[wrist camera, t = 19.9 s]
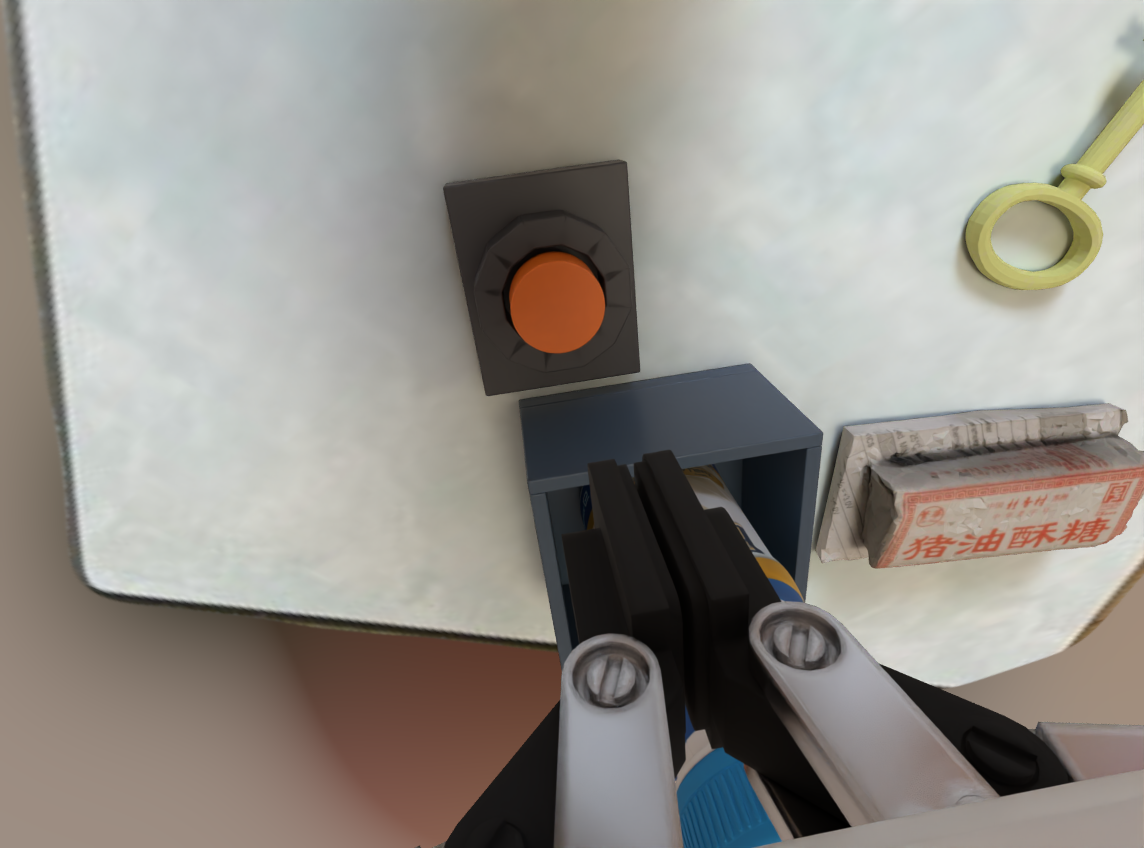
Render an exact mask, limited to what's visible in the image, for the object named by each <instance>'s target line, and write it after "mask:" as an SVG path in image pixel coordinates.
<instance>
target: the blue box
mask: <svg viewBox="0 0 1144 848" xmlns="http://www.w3.org/2000/svg"><path fill="white" fill-rule="evenodd" d="M519 407H520V416H521V426H522V436H523V446H524V455H525V465H526V475H527V484H528V489H529V493H530V500H531V505H532V511H533V516H534V522H535V527H536V533H537V538H538V543H539V549H540V554H541V560H542V565H543V571H544V576H545V582H546V587H547V592H548V598H549V603H550V609H551V614H552V620H553V625H554V630H555V636H556V641H557V647H558V652H559V658H560V663H561V669H562V672H563V667H564V663H565V661H566V660H567V658H568V656H569V655H570V653H571V651H573V650H574V649H575V648H576V647H577V646H578V645H579V640H578V634H577V628H576V622H575V616H574V611H573V605H572V599H571V593H570V586H569V580H568V574H567V568H566V562H565V555H564V549H563V543H562V536H561V534H566V533H572V532H578V531H583V530H585V527H584V524H583V520H582V516H581V511H580V494H581V489H582V486H585V485H589V476H588V467H587V464H588V463H591V462H597V461H603V460H609V459H615V461H616V463H617V465H623V464H626V465H627V467H628V469H629V472H630V474H631V477H634V463H635V462H641V461H642V456H643V454H645V453H651V452H657V451H664V450H671V451H672V452H673V454H674V456H675V458H676V459H677V461H678V463H679V465H680V467H681V469H686V468H692V467H698V466H704V465H710V464H714V465H715V467H716V468H717V470H718V472H719V474H720V476H721V478H722V480H723V481H724V483H725V485H726V487H727V488H728V490H729V491H730V493H731V495H732V496H733V498H734V499H735V501H736V502H737V504H738V506H739V507H740V509H741V510H742V512H743V513H744V515H745V516H746V518H747V519H748V521H749V522H750V524H751V525H752V527H753V528H754V530H755V531H756V533H757V534H758V536H759V538H760V539H761V541H762V542H763V544H764V545H765V547H766V548H767V550H768V551H769V553H770V554H771V556H772V557H773V558H775V559H776V560H777V561H778V562H779V563H780V564H781V565H782V566H783V567H784V568H785V569H786V570H787V571H788V573H789V574H790V576H791V577H792V579H793V580H794V582H795V583H796V585H797V587H798V589H799V591H800V593H801V595H802V597H803V600H804V603H805V599H806V590H807V580H808V571H809V562H810V553H811V543H812V534H813V525H814V515H815V506H816V497H817V488H818V478H819V469H820V460H821V450H822V446H821V445H822V440H823V432H822V431H821V430H820V429H819V428H818V427H817V426H816V425H815V424H814V423H813V422H811V421H810V420H809V419H808V418H807V417H806V416H805V415H804V414H803V413H802V412H801V411H800V410H799V409H798V408H797V407H796V406H795V405H794V404H792V403H791V402H790V401H789V400H788V399H787V398H786V397H785V396H784V395H783V394H782V393H781V392H780V391H779V390H778V389H777V388H776V387H775V386H774V385H772V384H771V383H770V382H769V381H768V380H767V379H766V378H765V377H764V376H763V375H762V374H761V373H760V372H759V371H758V370H757V369H756V368H755V367H754V366H753V365H752V364H744V365H738V366H731V367H725V368H719V369H712V370H706V371H700V372H693V373H687V374H681V375H675V376H668V377H662V378H656V379H649V380H643V381H637V382H631V383H624V384H618V385H612V386H605V387H599V388H593V389H586V390H580V391H574V392H568V393H561V394H555V395H549V396H542V397H536V398H530V399H524V400H519Z"/></svg>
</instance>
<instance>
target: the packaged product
mask: <svg viewBox="0 0 1144 848" xmlns="http://www.w3.org/2000/svg"><path fill="white" fill-rule="evenodd" d="M1127 422H1128V418H1127V413H1126V410H1124V409H1121V408H1119V407H1117V406H1114V405H1112V404H1109V403H1107V404H1097V405H1087V406H1077V407H1063V408H1037V409H1010V410H982V411H972V412H965V413H958V414H951V415H944V416H936V417H926V418H917V419H908V420H899V421H889V422H880V423H871V424H862V425H852V426H844V427H843V432H842V436H841V441H840V446H839V450H838V455H837V459H836V464H835V469H834V473H833V478H832V482H831V487H830V491H829V495H828V500H827V504H826V508H825V513H824V517H823V521H822V525H821V530H820V534H819V538H818V542H817V547H816V553H817V555H818V557H819V558H820V560H821V562H822V563H825V562H829V561H835V560H842V559H844V560H854V559H860V558H867V557H869V564H870V566H871V567H872V568H890V567H901V566H910V565H920V564H930V563H939V562H948V561H957V560H967V559H975V558H984V557H995V556H1002V555H1010V554H1014V555H1015V554H1022V553H1032V552H1042V551H1051V550H1059V549H1074V548H1080V547H1095V546H1097V545H1101V544H1105V543H1107V542H1108V541H1110V540H1112V539H1113V538H1114V537H1115V536H1116V535H1120V534H1121V533H1122V532H1123V531H1124V530H1125V529H1126V528H1127V526H1126V524H1127V522H1128V521H1129V519H1130V518H1131V517H1132V513H1133V510H1134V509H1135V507H1136V506H1137V505H1138V501H1139V500H1140V499H1141V498H1142V496H1143V494H1144V451H1138V450H1137V449H1136V448H1135V447H1134V446H1133V445H1132V444H1131V443H1130V442H1128V441H1126V440H1124V439H1123V438H1121V437H1119V436H1118V434H1119V432H1120V430H1121V428H1122V426H1123V425H1124V424H1125V423H1127Z"/></svg>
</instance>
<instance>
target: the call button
mask: <svg viewBox="0 0 1144 848" xmlns="http://www.w3.org/2000/svg"><path fill="white" fill-rule="evenodd" d="M509 300H510V310H511V317H512V321H513V324H514V327H515V329H516V330H517V332H518V334H519V335H520V336H521V338H522V339H523V340H524V341H525V342H526V343H528V344H529V345H530V346H532V347H534V348H535V349H538V350H540V351H543V352H547V353H566V352H570V351H573V350H576V349H578V348H580V347H582V346H583V345H585V344H586V343H587V342H589V341H590V340H591V339H592V338H593V337H594V335H595V334H596V333H597V331H598V330H599V328H600V326H601V324H602V321H603V318H604V314H605V299H604V294H603V291H602V288H601V286H600V284H599V282H598V281H597V279H596V278H595V276H594V275H593V273H592V272H591V270H590V269H589V267H588V266H587V265H586V264H585V263H584V262H583V261H582V260H580V259H579V258H577V257H575V256H573V255H571V254H568V253H564V252H557V251H552V252H545V253H541V254H538V255H536V256H534V257H532V258H530V259H529V260H527V261H526V262H525V263H524V264H523V265H522V266H521V267H520V268H519V269H518V271H517V272H516V274H515V275H514V278H513V280H512V283H511V286H510V292H509Z"/></svg>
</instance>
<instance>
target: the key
mask: <svg viewBox="0 0 1144 848" xmlns="http://www.w3.org/2000/svg"><path fill="white" fill-rule="evenodd" d="M1143 41H1144V40H1143ZM1143 124H1144V80H1143V81H1142V82H1141V83H1140V85H1139V86H1138V87H1137V88H1136V90H1135V91H1134V92H1133V93H1132V95H1131V96H1130V97H1129V98H1128V100H1127V101H1126V102H1125V103H1124V105H1123V106H1122V107H1121V108H1120V110H1119V111H1118V112H1117V113H1116V115H1115V116H1114V117H1113V118H1112V120H1111V121H1110V122H1109V123H1108V125H1107V126H1106V127H1105V128H1104V130H1103V131H1102V132H1101V133H1100V135H1099V136H1098V137H1097V139H1096V140H1095V141H1094V142H1093V144H1092V145H1091V146H1090V147H1089V149H1088V150H1087V151H1086V152H1085V154H1084V155H1083V156H1082V157H1081V159H1080V160H1079V161H1078V162H1077V164H1068V165H1065V166H1064V167H1063V168H1062V169H1061V174H1062V176H1063V177H1064V178H1065V179H1064V180H1063V181H1062V182H1061V184H1060V185H1059V186H1058V187H1054V186H1051V185H1048V184H1040V183H1021V184H1014V185H1008V186H1005V187H1003V188H1001V189H998V190H997V191H995V192H993V193H992V194H990V195H989V196H988V197H986V198H985V199H984V200H983V201H982V202H981V203H980V204H979V206H978V207H977V208H976V209H975V211H974V212H973V214H972V215H971V217H970V219H969V221H968V224H967V228H966V236H965V239H966V245H967V248H968V251H969V253H970V256H971V258H972V259H973V261H974V263H975V265H976V267H977V268H978V269H979V270H980V272H981V273H982V274H984V275H985V276H986V277H987V278H989V279H990V280H992V281H994V282H995V283H997V284H1000V285H1002V286H1005V287H1009V288H1012V289H1019V290H1038V289H1047V288H1053V287H1057V286H1061V285H1063V284H1065V283H1067V282H1069V281H1071V280H1073V279H1074V278H1076V277H1078V276H1079V275H1080V274H1081V273H1082V272H1083V271H1084V270H1085V269H1087V268H1088V266H1089V265H1090V264H1091V263H1092V262H1093V260H1094V259H1095V257H1096V256H1097V254H1098V252H1099V250H1100V247H1101V244H1102V238H1103V231H1102V227H1101V222H1100V220H1099V218H1098V216H1097V215H1096V213H1095V212H1094V211H1093V210H1092V209H1091V208H1090V207H1089V206H1088V205H1087V204H1086V203H1084V202H1083V201H1082V200H1081V199H1082V198H1083V197H1084V196H1085V194H1086V193H1087V192H1088V191H1089V190H1090V188H1093V189H1096V188H1101V187H1103V186H1104V185H1105V184H1106V182H1107V181H1106V178H1105V176H1104V175H1102V174H1103V173H1104V171H1105V170H1106V169H1107V168H1108V167H1109V165H1110V164H1111V163H1112V162H1113V160H1114V159H1115V158H1116V157H1117V156H1118V154H1119V153H1120V152H1121V151H1122V150H1123V148H1124V147H1125V146H1126V145H1127V144H1128V142H1129V141H1130V140H1131V139H1132V137H1133V136H1134V135H1135V134H1136V133H1137V131H1138V130H1139V129H1140V128H1141V127H1142V125H1143ZM1031 200H1037V201H1041V202H1044V203H1047V204H1050V205H1052V206H1054V207H1056V208H1058V209H1059V210H1060V211H1061V212H1062V213H1064V214H1065V215H1066V217H1067V218H1068V220H1069V221H1070V223H1071V226H1072V230H1073V233H1074V234H1073V241H1072V244H1071V247H1070V248H1069V250H1068V252H1067V253H1066V255H1065V256H1064V258H1063V259H1062V260H1061V261H1060V262H1058V263H1057V264H1056V265H1054V266H1053V267H1051V268H1049V269H1046V270H1042V271H1035V272H1031V271H1026V270H1021V269H1018V268H1015V267H1013V266H1011V265H1009V264H1007V263H1006V262H1004V261H1003V260H1002V259H1001V258H999V257H998V256H997V255H996V254H995V252H994V250H993V247H992V245H991V239H990V238H991V232H992V229H993V226H994V224H995V223H996V221H997V220H998V219H999V217H1000V216H1001V215H1002V214H1003V213H1004V212H1006V211H1007V210H1008V209H1009V208H1011V207H1012V206H1014V205H1015V204H1018V203H1020V202H1023V201H1031Z"/></svg>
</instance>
